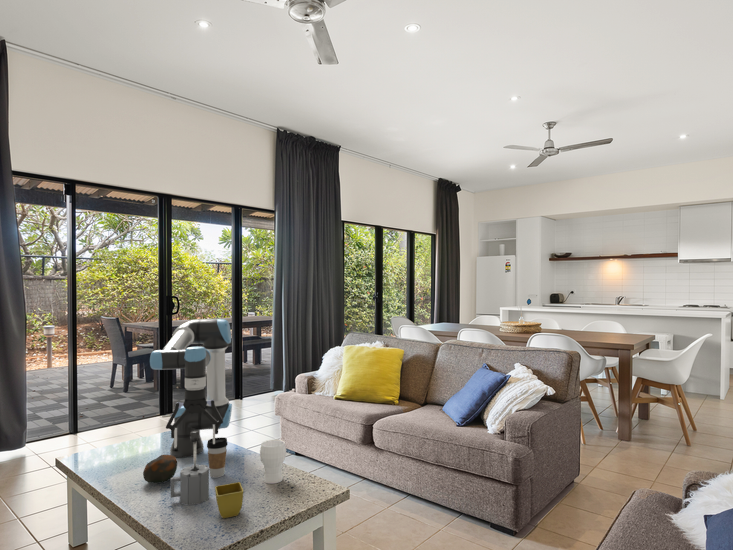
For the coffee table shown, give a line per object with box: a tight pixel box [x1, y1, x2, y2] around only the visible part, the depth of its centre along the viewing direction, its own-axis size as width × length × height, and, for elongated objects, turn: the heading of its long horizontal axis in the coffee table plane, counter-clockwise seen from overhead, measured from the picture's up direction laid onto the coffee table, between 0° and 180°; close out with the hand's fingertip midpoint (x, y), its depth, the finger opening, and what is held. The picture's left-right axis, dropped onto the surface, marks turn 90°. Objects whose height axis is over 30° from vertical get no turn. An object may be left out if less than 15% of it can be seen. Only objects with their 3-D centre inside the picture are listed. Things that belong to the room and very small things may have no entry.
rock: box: [142, 454, 178, 484], centre depth 191 cm, size 14×11×10 cm
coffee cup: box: [206, 437, 228, 479], centre depth 197 cm, size 8×8×15 cm
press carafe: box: [170, 464, 210, 506], centre depth 174 cm, size 10×14×11 cm
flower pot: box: [214, 481, 245, 519], centre depth 162 cm, size 9×9×9 cm
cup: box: [259, 439, 287, 484], centre depth 192 cm, size 11×11×15 cm
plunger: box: [189, 430, 201, 477], centre depth 175 cm, size 6×6×17 cm
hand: (195, 444), depth 175 cm, fingers open, 13 cm apart
